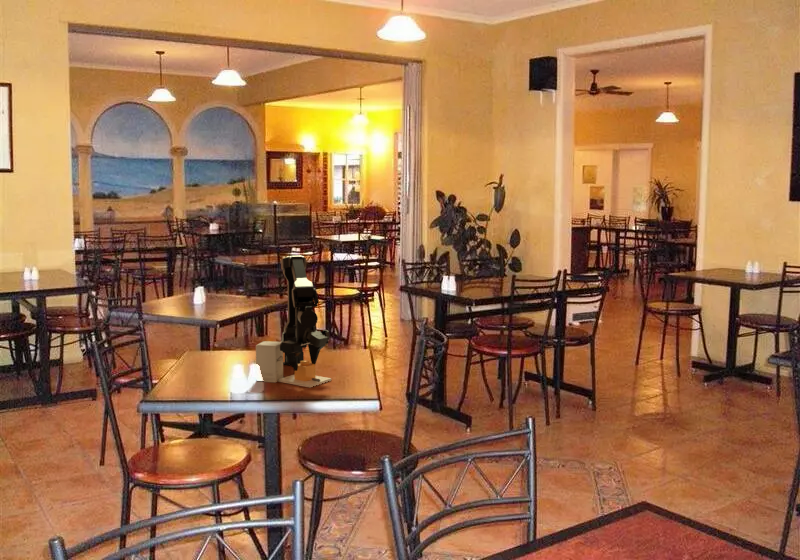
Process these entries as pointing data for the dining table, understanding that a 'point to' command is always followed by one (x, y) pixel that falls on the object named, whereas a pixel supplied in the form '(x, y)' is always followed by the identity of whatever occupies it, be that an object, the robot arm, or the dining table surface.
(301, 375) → the orange domed cube
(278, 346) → the supplement box
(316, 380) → the cream base plate
